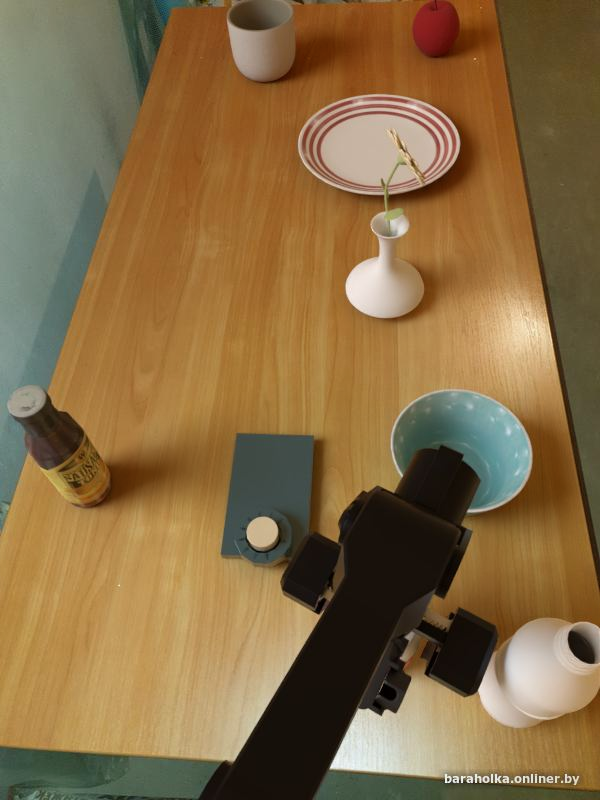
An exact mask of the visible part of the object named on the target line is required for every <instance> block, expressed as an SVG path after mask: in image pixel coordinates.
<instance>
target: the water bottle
mask: <svg viewBox="0 0 600 800" xmlns="http://www.w3.org/2000/svg"><path fill="white" fill-rule="evenodd" d="M599 690H600V627H599V626H597V625H596V624H594V623H592V622H589V621H578V622H574V623H571V622H569V621H568V620H564V619H562V618H557V617H540V618H536V619H533V620H530V621H528V622H526V623H524V624H523V625H522V626H521V627H519V628H518V629H517V630H516V631H515V633H514V634H513V635H511V636H510V637H508V638H506V640H505V641H504V642H503V643H502V644H501V645H500V646H499V648H498V649H497V650H496V651H494V652H493V654H492V657H491V660H490V662H489V665H488V667H487V670H486V672H485V675H484V677H483V680H482V683H481V685H480V687H479V689H478V691H477V692H478V695H479V699H480V703H481V705H482V707H483V708H484V710H485V711H486V713H488V715H489V716H490V717H491V718H493V719H494V720H495V721H496V722H497V723H499V724H501V725H503V726H506V727H510V728H515V729H527V728H531V727H534V726H536V725H539V724H540V723H542V722H543V721H551V720H554V719H557V718H561V717H562V716H564V715H565V714H570V713H574V712H577V711H579V710H582V709H583V708H584V707H586V706H588V705H589V704H590V703H591V702H592V701H593V700H594V698H595V697H596V696H597V695H598V692H599Z"/></svg>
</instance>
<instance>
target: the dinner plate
mask: <svg viewBox="0 0 600 800" xmlns="http://www.w3.org/2000/svg"><path fill="white" fill-rule="evenodd" d="M389 127H390V128H391V129H392V132H393V134H394V130H393V129H394V128H395V130H396V132H397V134H398V136H399V139H400V141H404V143H405V145H406V147H407V151H408V153H409V154H410V155H411V157H412V158H413V159H414V160H415V161H416V162H417V163H418V165H419V167H417V168H418V169H419V170H420V171H421V172H422V173H423V175H424V176H425V177H426V179H423V178H422V177H421V176H420V177H421V178H422V179H423V180H424V182H425V183H426V184H424V183H423V184H424V186H422V185H421V184H420V183H419V182H418V181H417V179H416V178H415V177H414V175H413V174H412V173H411V171H410V170H409V168H408V167H407V165H400V164H399V166H398V167H397V169H396V171H395V173H394V174H393V176H392V178H391V180H390V183H389V185H388V188H387V189H388V193H389V196H391V195H398V194H404V193H409V192H411V191H412V192H413V191H415V190H419V189H421V188H423V187H426V186H428V185H430V184H431V183H433V182H435V181H437V180H438V179H440V178H441V177H442V176H444V175H445V174H446V173H447V172H448V171H449V170H450V169H451V168H452V167H453V165H454V164H455V162H456V161H457V159H458V156H459V154H460V150H461V149H460V148H461V138H460V134H459V131H458V129H457V127H456V125H455V124H454V123H453V121H452V120H451V118H449V117H448V116H447V115H446V114H445V113H443V112H442V111H441V110H439V109H438V108H436V107H434V106H433V105H431V104H429V103H427V102H424V101H422V100H418V99H416V98H412V97H408V96H403V95H397V94H387V93H382V94H381V93H375V94H374V93H373V94H364V95H363V94H362V95H356V96H351V97H348V98H343V99H340V100H338V101H335V102H333V103H331V104H328V105H326V106H325V107H323V108H320V110H318V111H317V112H315V113H313V115H312V116H311V117H309V119H307V121H306V122H305V123H304V125H303V127H302V128H301V130H300V133H299V135H298V142H297V149H298V154H299V157H300V159H301V161H302V163H303V164H304V167H306V169H308V171H309V172H310V173H312V174H313V176H315V177H316V178H318V179H319V180H321V181H322V182H324V183H326V184H328V185H330V186H331V187H334V188H336V189H339V190H342V191H345V192H349V193H353V194H359V195H365V196H368V195H369V196H384V191H383V189H382V186H381V178H382V179H383V181H384V183H385V185H386V183H387V180H388V178H389V176H390V174H391V172H392V170H393V169H394V167H395V165H396V163H397V162H398V160H397V159H398V156H399V153H398V151H397V149H396V148H395V146H394V144H393V143H392V141H391V139H390V136H389V134H388V132H387V128H388V129H389Z"/></svg>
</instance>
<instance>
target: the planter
mask: <svg viewBox="0 0 600 800" xmlns="http://www.w3.org/2000/svg"><path fill="white" fill-rule="evenodd" d="M226 20H227V21H226V22H227V29H228V36H229V41H230V42H229V43H230V47H231V53H232V57H233V60H234V61H233V62H234V63H235V65H236V67H237V70H238V71H239V72H240V73H241V74H242V75H243V76H244V77H246V78H247V79H249V80H251V81H254V82H261V83H265V82H266V83H267V82H273V81H276V80H279V79H280V78H282V77H284V76H286V75H287V73H288V72H290V70H291V68H292V67H293V64H294V61H295V57H296V49H297V48H296V25H295V24H296V23H295V21H296V20H295V10H294V6H293V5H292V4H291V3H290V1H288V0H239V1H237V2H235V3H234V4H233V5H232V6H231V7H230V8H229V9H228V10H227V12H226Z"/></svg>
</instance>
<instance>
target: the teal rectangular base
mask: <svg viewBox="0 0 600 800" xmlns="http://www.w3.org/2000/svg"><path fill="white" fill-rule="evenodd" d="M314 455H315V435H314V434H313V435H311V434H307V435H306V434H283V433H282V434H281V433H280V434H279V433H250V432H249V433H248V432H245V433H244V432H236V434H235V441H234V449H233V457H232V466H231V471H230V472H231V473H230V479H229V486H228V487H229V488H228V495H227V503H226V510H225V516H224V517H225V518H224V524H223V525H224V526H223V532H222V540H221V541H222V542H221V546H220V547H221V548H220V556H221V558H222V559H228V560H229V559H230V560H231V559H232V560H244V561H245V562H247V563H248V564H249V565H251V566H252V567H254V568H272V567H274V566H276V565H278V564H280V563H282V562H290V561H291V559H292V558H293V556H294V554H295V552H296V551H297V549H298V547H299V545H300V544H301V542H302V540H303V538H304V537H305V536H306V535H308V534H310V522H311V521H310V520H311V506H312V505H311V504H312V487H313V474H314V473H313V472H314V471H313V469H314V457H315V456H314ZM258 517H268V518H271V519H272V520H274V521H275V523H276V524H277V526H278V530H279V540H278V543H277V544H276V545H275V547H273V548H272V549H270V550H268V551H258V550H256V549H254V548H253V547H252V546H251V545H250V543H249V541H248V538H247V528H248V525H249V524H250V523H251V522H252V521H253V520H254V519H256V518H258Z"/></svg>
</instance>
